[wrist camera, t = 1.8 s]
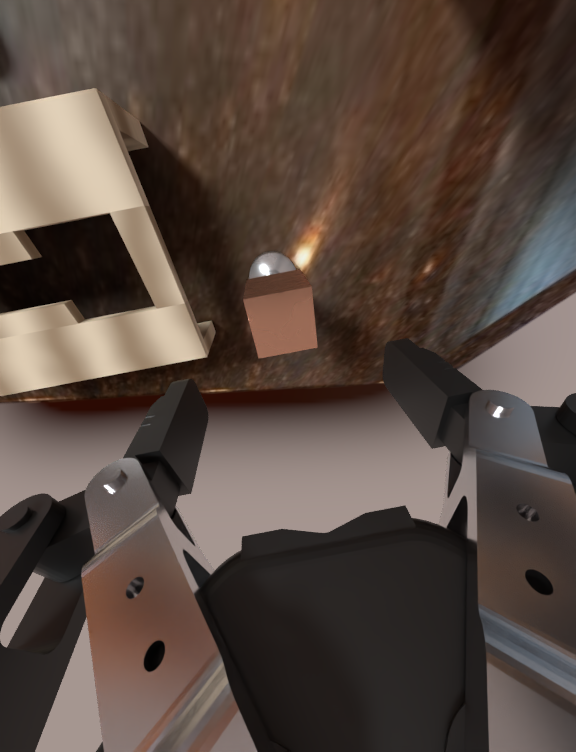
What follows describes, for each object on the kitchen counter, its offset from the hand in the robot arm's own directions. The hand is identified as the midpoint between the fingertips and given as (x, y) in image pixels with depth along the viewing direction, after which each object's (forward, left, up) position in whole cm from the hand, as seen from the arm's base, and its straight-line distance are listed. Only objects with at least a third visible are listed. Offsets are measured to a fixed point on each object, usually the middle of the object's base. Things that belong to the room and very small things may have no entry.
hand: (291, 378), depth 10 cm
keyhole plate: (+20, -4, -19) cm, 28 cm away
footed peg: (0, 0, -19) cm, 19 cm away
